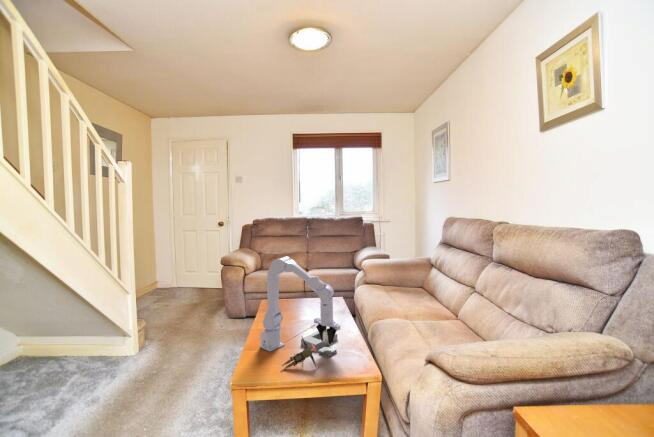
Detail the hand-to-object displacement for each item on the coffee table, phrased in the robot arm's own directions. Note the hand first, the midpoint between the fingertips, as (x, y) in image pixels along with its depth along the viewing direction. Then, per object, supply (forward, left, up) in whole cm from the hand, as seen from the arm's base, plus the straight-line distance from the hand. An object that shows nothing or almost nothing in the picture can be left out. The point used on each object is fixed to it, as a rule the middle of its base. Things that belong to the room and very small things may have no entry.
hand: (327, 341), depth 139 cm
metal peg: (0, 0, -2) cm, 2 cm away
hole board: (+6, +10, -5) cm, 13 cm away
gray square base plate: (0, 0, -5) cm, 5 cm away
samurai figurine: (-16, +3, -6) cm, 18 cm away
